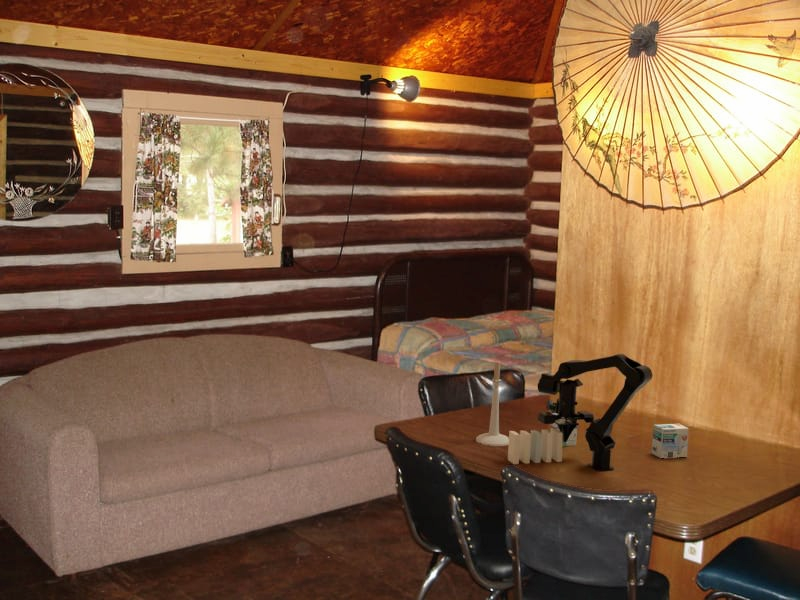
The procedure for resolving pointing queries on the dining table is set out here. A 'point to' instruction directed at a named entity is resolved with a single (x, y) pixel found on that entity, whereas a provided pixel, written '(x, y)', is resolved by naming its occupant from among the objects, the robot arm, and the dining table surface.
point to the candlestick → (494, 417)
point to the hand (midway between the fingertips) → (564, 441)
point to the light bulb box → (670, 440)
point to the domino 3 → (535, 446)
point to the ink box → (572, 437)
